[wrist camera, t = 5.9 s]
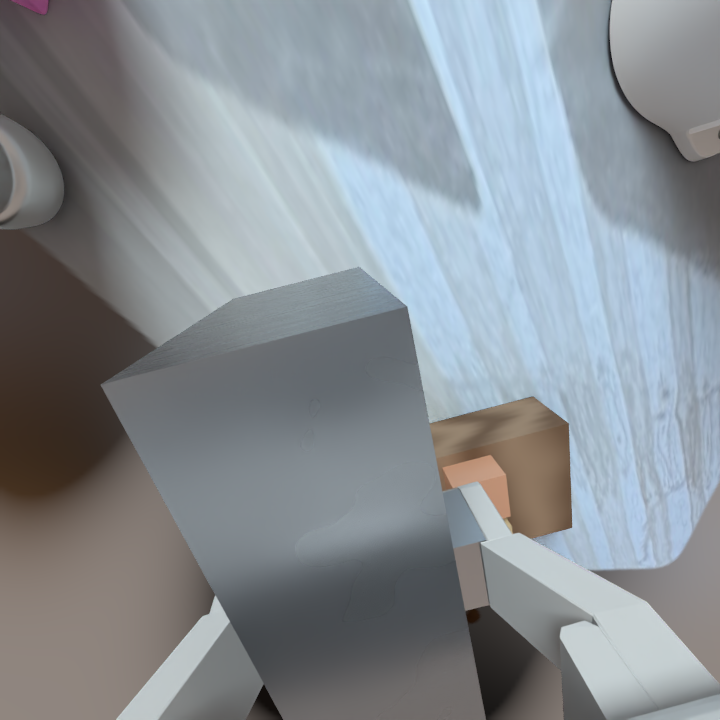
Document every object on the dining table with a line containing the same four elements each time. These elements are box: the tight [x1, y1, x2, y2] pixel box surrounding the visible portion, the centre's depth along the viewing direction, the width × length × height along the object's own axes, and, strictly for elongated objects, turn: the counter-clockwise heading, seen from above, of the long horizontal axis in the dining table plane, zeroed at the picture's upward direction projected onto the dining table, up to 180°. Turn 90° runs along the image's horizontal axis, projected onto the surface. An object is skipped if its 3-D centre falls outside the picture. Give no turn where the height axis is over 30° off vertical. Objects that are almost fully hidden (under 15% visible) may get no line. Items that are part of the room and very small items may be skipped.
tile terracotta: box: [442, 455, 511, 518], centre depth 27 cm, size 4×4×2 cm
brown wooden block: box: [430, 397, 572, 539], centre depth 32 cm, size 13×11×5 cm
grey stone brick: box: [101, 267, 486, 720], centre depth 8 cm, size 3×12×5 cm, turn 13°
